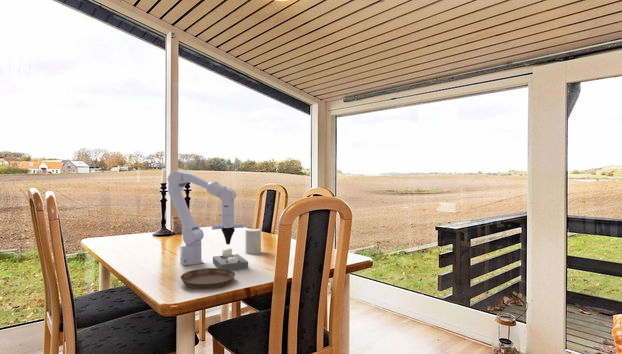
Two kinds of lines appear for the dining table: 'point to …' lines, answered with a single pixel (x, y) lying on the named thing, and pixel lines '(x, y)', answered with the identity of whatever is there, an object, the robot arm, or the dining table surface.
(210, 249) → the dining table surface
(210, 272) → the plant saucer
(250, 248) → the cup
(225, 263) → the slate mount
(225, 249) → the far knob
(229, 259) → the near knob
